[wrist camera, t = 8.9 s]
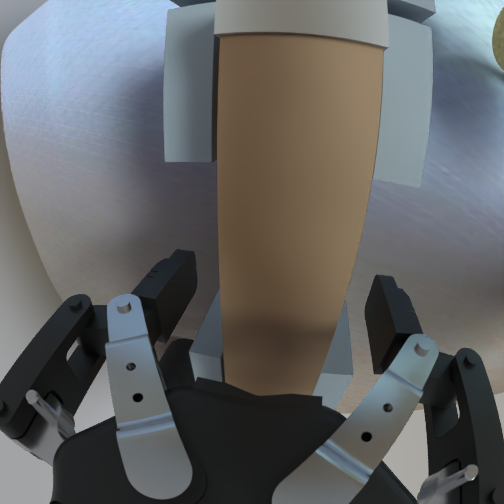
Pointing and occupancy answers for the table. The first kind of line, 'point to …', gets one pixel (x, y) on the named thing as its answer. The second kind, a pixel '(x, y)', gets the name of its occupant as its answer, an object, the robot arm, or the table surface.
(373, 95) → the brown wooden bar
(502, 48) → the wall sconce
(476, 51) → the table surface
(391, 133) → the pair of grey brackets
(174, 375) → the travel mug
